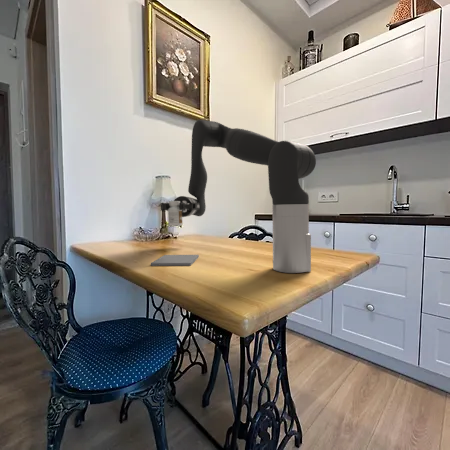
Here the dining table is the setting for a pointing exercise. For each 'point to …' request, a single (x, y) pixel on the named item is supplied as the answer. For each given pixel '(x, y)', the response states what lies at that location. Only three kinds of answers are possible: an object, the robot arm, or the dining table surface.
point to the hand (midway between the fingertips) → (172, 206)
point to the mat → (175, 260)
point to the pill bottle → (174, 214)
